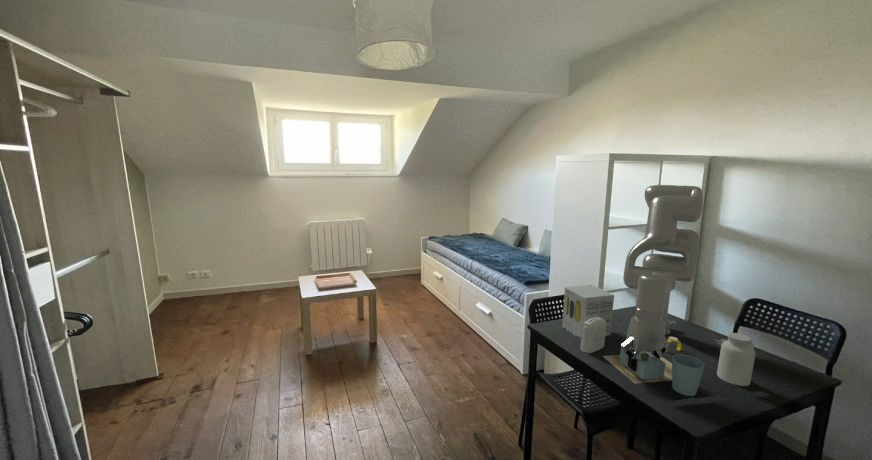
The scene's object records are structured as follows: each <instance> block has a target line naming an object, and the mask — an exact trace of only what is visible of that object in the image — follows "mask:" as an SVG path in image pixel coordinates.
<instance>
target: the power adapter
mask: <svg viewBox="0 0 872 460" xmlns="http://www.w3.org/2000/svg"><path fill="white" fill-rule="evenodd" d="M711 341H713V343H712V344H713V345H719V346H721V345H722V343H723V342H725V341H728V339H726V338H721V339H715V338H712V339H711ZM754 346H755V345H754V342H753V341H752V340H751V347H752V348H753V349H754V348H755V347H754Z"/></svg>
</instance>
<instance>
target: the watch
mask: <svg viewBox="0 0 872 460" xmlns="http://www.w3.org/2000/svg"><path fill="white" fill-rule="evenodd" d="M666 340H667V341H668V342H669V343H670V344H671V343H672V342H673V343H677V347H676V350H677V351H679V352H680V351H681V350H682V343H681V341H680V340H679V339H678V337H675V336H668V339H666ZM665 352H666V353H668V348H666V351H665Z"/></svg>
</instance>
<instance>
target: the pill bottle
mask: <svg viewBox="0 0 872 460" xmlns="http://www.w3.org/2000/svg"><path fill="white" fill-rule="evenodd" d="M727 340H728V341H725V342H723V343H722V345H720V346H721V347H720V352H719V353H720V354H719V357H718V358H719V359H718V365H717V369H716V370H717V371H716V375H717V377H718V378H719V379H720V380H722V381H724V382H726V383H729V384H731V385H735V386H740V387H748V386H750V385H751V381H752V376H753V371H754V365H755V360H756V351H755V349H754V348H752V347H751V341H752V338H751V337H750V336H748V335H745V334H743V333H738V332H730V333H729V334H728V335H727Z"/></svg>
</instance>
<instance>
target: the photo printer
mask: <svg viewBox="0 0 872 460" xmlns="http://www.w3.org/2000/svg"><path fill="white" fill-rule="evenodd" d="M605 332H606V321H605V320H604V319H603V318H600V317H594V318H591V319H589V320H587V321H586V322H585V323H584V324H583V325H582V332H581V337H580V346H579V350H580V351H582V352H583V353H585V354H586V353H587V354H593V353H594V352H596V351H599V350H601V349H603V348H604V347H605V342H606V336H605Z"/></svg>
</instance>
